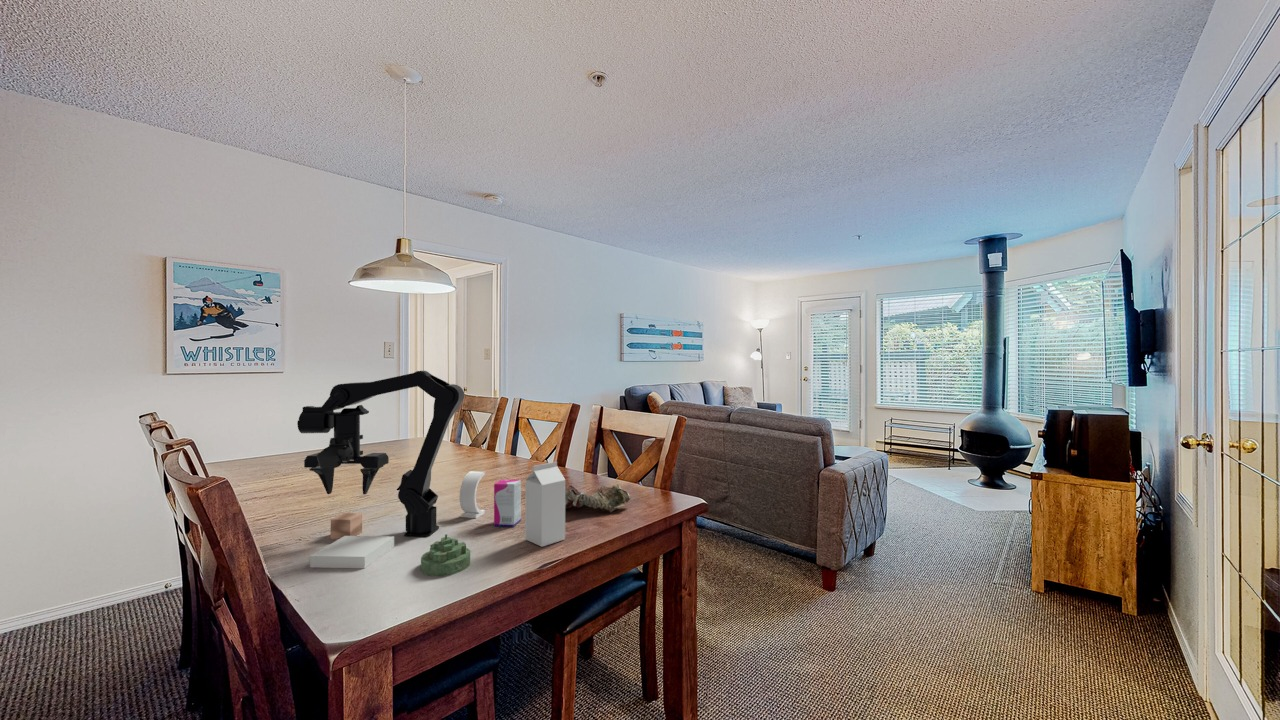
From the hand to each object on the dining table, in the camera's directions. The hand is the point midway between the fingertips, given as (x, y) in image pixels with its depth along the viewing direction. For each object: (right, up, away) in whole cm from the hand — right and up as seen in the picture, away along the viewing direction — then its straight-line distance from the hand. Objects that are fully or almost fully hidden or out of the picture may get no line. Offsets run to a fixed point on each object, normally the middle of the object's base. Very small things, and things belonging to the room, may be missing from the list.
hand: (347, 493), depth 126 cm
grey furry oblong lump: (+59, -11, +23) cm, 65 cm away
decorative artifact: (+32, -11, -18) cm, 38 cm away
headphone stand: (+26, -11, +16) cm, 33 cm away
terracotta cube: (0, -11, 0) cm, 11 cm away
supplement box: (+38, -11, +10) cm, 41 cm away
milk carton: (+51, -11, -2) cm, 52 cm away
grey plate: (+9, -11, -13) cm, 19 cm away
